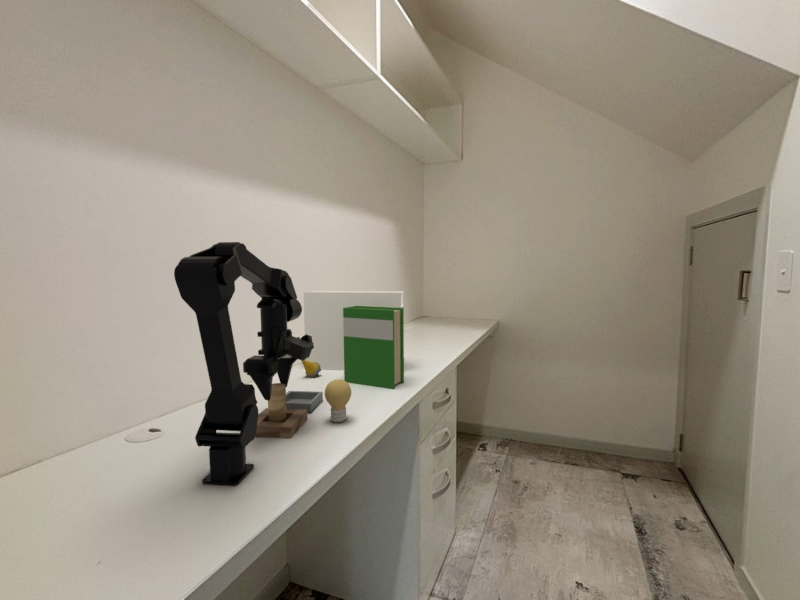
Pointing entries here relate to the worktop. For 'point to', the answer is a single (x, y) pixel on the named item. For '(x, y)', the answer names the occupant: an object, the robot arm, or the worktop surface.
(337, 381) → the light bulb
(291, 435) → the square wooden frame
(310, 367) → the ice cream cone
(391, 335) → the hardback book
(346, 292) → the white flat rectangular panel
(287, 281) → the robot arm
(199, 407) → the worktop surface
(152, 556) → the worktop surface
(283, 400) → the dowel
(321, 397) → the tray
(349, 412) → the worktop surface
